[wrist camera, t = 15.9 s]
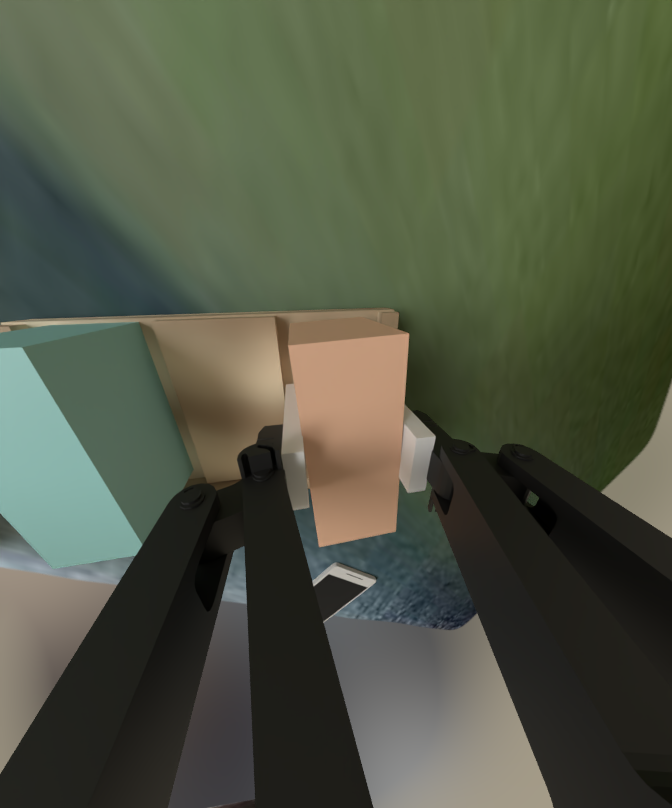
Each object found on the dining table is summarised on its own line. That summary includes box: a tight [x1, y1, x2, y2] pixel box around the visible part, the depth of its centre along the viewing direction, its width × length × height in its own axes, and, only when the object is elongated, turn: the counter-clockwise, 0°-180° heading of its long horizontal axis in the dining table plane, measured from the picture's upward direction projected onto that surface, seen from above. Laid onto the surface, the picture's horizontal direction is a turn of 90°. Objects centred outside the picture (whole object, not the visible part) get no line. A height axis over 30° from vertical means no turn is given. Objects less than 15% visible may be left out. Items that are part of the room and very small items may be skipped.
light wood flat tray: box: [0, 308, 399, 491], centre depth 15 cm, size 12×20×3 cm, turn 91°
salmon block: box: [288, 317, 409, 547], centre depth 12 cm, size 10×4×6 cm, turn 4°
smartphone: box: [312, 563, 376, 623], centre depth 30 cm, size 7×15×1 cm, turn 138°
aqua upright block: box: [0, 322, 194, 569], centre depth 12 cm, size 10×4×6 cm, turn 1°
